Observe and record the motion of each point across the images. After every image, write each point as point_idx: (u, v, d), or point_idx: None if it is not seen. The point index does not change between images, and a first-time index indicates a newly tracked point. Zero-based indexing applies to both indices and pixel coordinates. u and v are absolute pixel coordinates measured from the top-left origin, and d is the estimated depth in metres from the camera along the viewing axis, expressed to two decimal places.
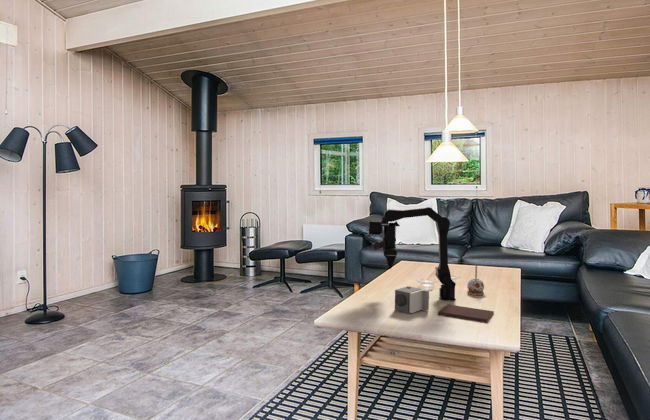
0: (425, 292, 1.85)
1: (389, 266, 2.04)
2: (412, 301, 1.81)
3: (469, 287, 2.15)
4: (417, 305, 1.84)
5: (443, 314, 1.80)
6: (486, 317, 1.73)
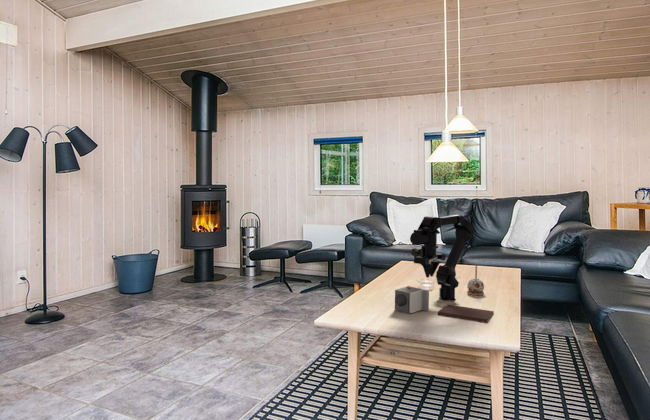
0: (425, 292, 1.85)
1: (426, 274, 1.98)
2: (412, 301, 1.81)
3: (469, 287, 2.15)
4: (417, 305, 1.84)
5: (443, 314, 1.80)
6: (486, 317, 1.74)
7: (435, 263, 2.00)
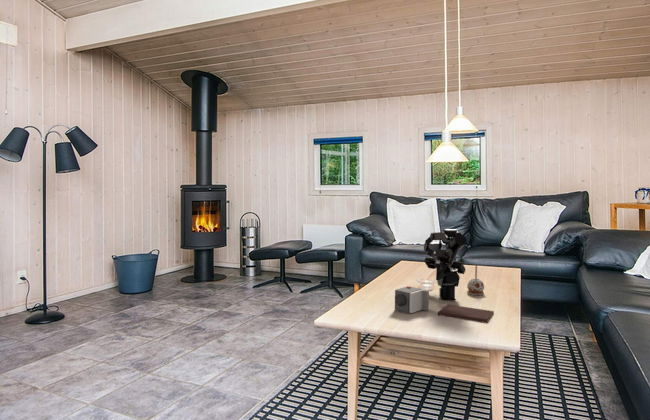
0: (425, 292, 1.85)
1: (439, 277, 1.93)
2: (412, 301, 1.81)
3: (469, 287, 2.15)
4: (417, 305, 1.84)
5: (443, 314, 1.80)
6: (486, 317, 1.74)
7: None
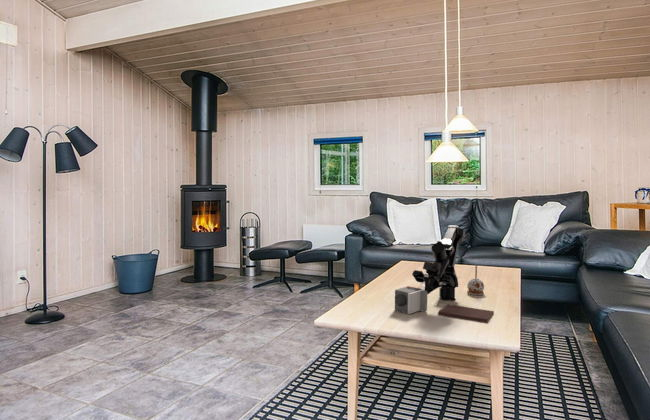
0: (423, 293, 1.85)
1: (428, 292, 1.86)
2: (410, 301, 1.81)
3: (469, 287, 2.15)
4: (415, 305, 1.83)
5: (443, 314, 1.80)
6: (486, 317, 1.74)
7: None
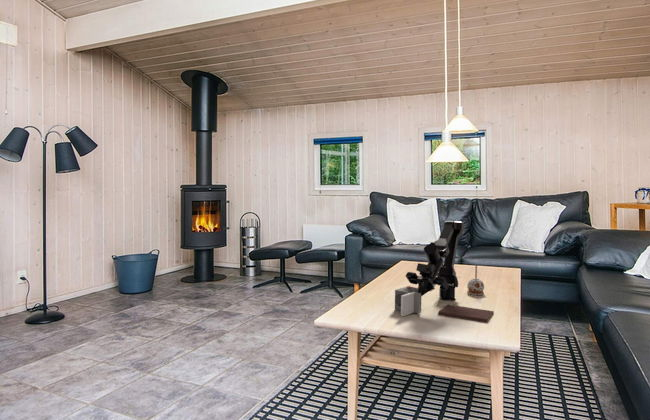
0: (417, 295, 1.81)
1: (421, 294, 1.83)
2: (403, 303, 1.77)
3: (469, 287, 2.15)
4: (408, 308, 1.80)
5: (443, 314, 1.80)
6: (486, 317, 1.74)
7: None
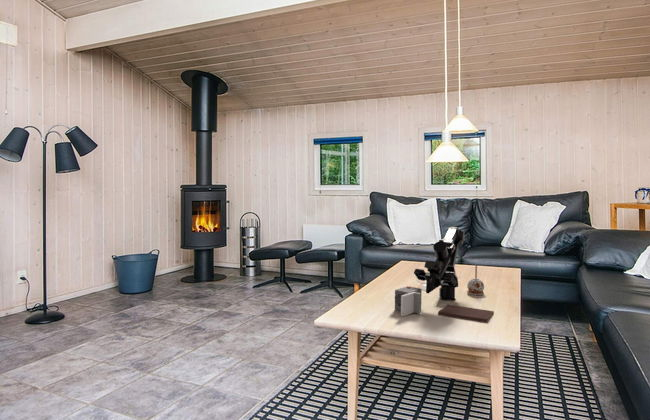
0: (417, 295, 1.81)
1: (429, 290, 1.87)
2: (403, 303, 1.77)
3: (469, 287, 2.15)
4: (408, 308, 1.80)
5: (443, 314, 1.80)
6: (486, 317, 1.74)
7: None
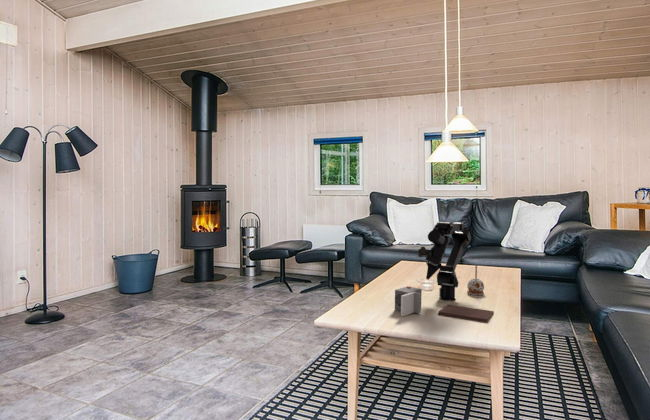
0: (417, 295, 1.81)
1: (427, 276, 1.96)
2: (403, 303, 1.77)
3: (469, 287, 2.15)
4: (408, 308, 1.80)
5: (443, 314, 1.80)
6: (486, 317, 1.74)
7: None
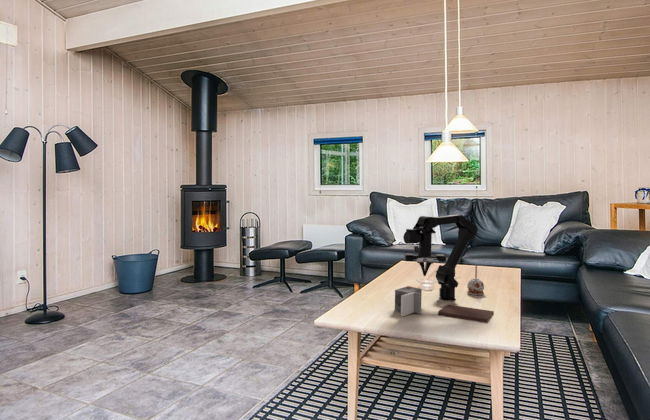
0: (417, 295, 1.81)
1: None
2: (403, 303, 1.77)
3: (469, 287, 2.15)
4: (408, 308, 1.80)
5: (443, 314, 1.80)
6: (486, 317, 1.74)
7: (426, 263, 2.00)
